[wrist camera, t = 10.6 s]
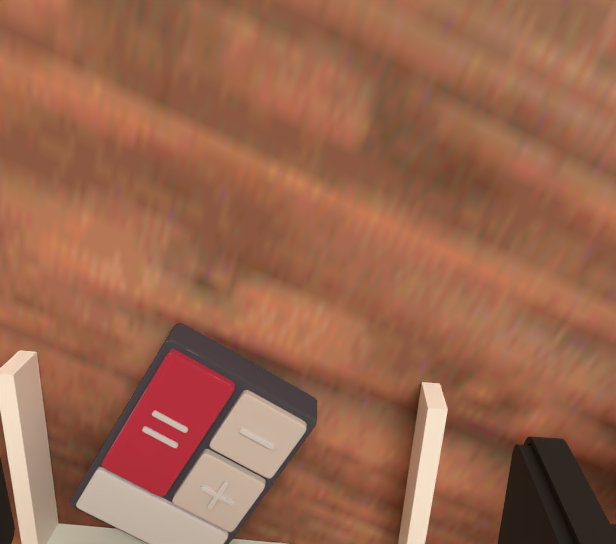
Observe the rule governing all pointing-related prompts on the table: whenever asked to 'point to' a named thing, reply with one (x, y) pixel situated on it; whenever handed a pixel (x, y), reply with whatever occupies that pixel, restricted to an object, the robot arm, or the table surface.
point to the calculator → (195, 445)
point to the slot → (98, 540)
